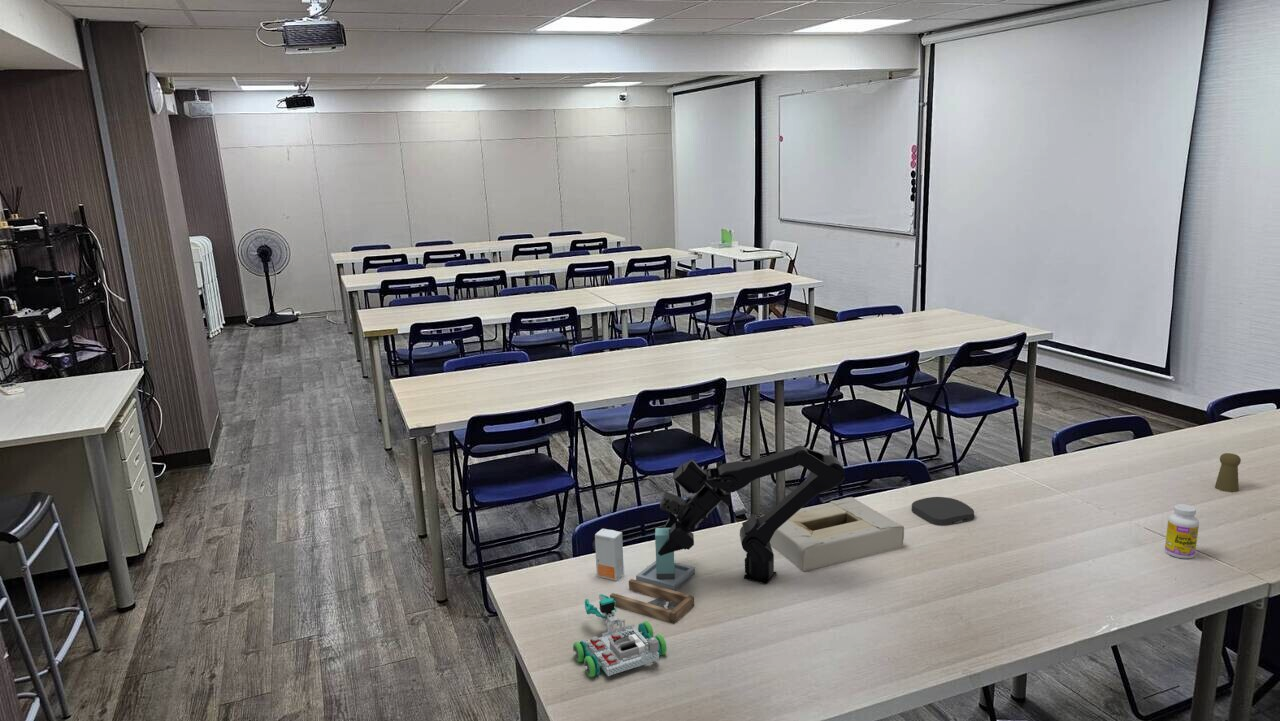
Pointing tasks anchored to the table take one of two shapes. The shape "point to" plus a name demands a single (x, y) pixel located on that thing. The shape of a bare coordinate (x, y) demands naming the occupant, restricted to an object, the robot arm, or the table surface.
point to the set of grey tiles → (663, 603)
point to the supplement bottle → (1182, 532)
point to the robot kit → (617, 643)
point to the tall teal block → (663, 556)
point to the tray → (681, 577)
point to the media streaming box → (942, 510)
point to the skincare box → (609, 554)
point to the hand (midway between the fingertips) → (659, 546)
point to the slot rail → (653, 610)
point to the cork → (1228, 473)
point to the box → (835, 534)
